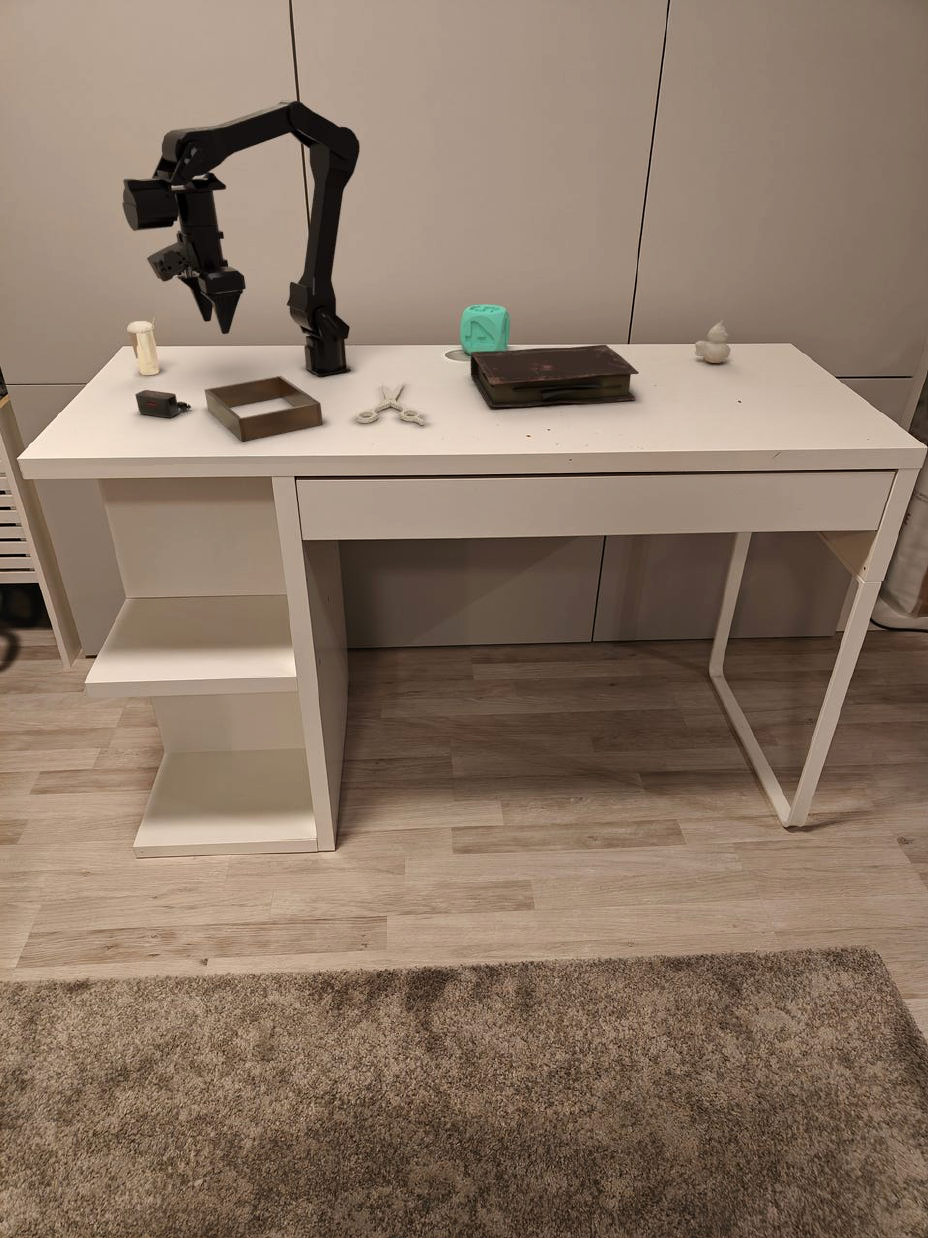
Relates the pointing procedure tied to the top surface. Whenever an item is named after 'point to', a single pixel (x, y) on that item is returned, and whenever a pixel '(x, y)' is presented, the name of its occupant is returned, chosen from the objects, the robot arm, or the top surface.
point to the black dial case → (159, 403)
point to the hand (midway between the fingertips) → (216, 327)
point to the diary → (552, 376)
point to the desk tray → (266, 423)
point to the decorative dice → (485, 328)
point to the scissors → (387, 403)
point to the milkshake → (144, 346)
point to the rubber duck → (714, 345)
